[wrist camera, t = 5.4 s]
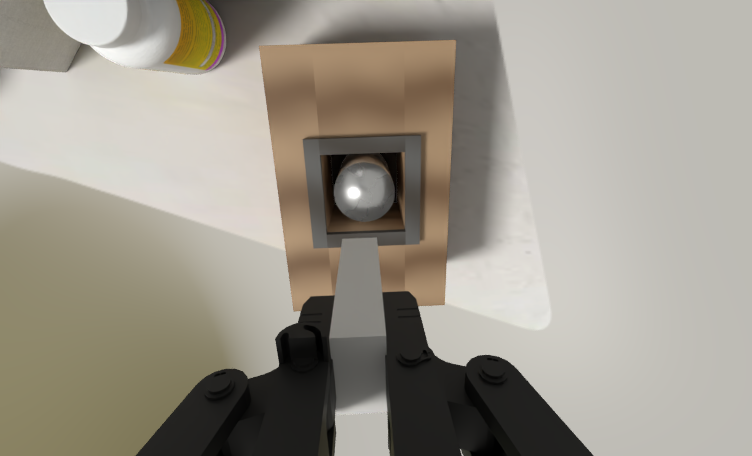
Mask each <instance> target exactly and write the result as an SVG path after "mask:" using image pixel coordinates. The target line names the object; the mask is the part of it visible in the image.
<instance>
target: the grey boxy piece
mask: <svg viewBox="0 0 752 456" xmlns="http://www.w3.org/2000/svg"><path fill="white" fill-rule="evenodd" d="M80 45H81V42H79V41H77V40H75V39H73V38H72V37H70V36H69V35H67V34H66V33H65V32H64V31H62V30H61V29H60V28H59V27H58V26H57V24H56V23H55V22H54V21H53V19H52V18H51V16H50V14H49V13H48V11H47V9H46V7H45V4H44V1H43V0H0V67H3V68H12V69H25V70H39V71H53V72H67V70H68V68H69V66H70V64H71V62H72V60H73V58H74V56H75V55H76V53H77V51H78V49H79V47H80Z"/></svg>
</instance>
